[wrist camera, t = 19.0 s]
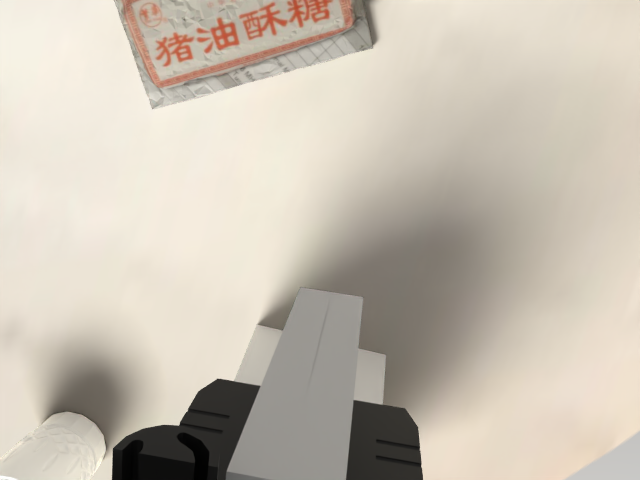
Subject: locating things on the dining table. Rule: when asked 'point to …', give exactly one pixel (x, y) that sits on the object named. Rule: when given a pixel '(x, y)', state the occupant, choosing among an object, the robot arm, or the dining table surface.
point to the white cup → (56, 451)
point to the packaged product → (235, 41)
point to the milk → (264, 346)
